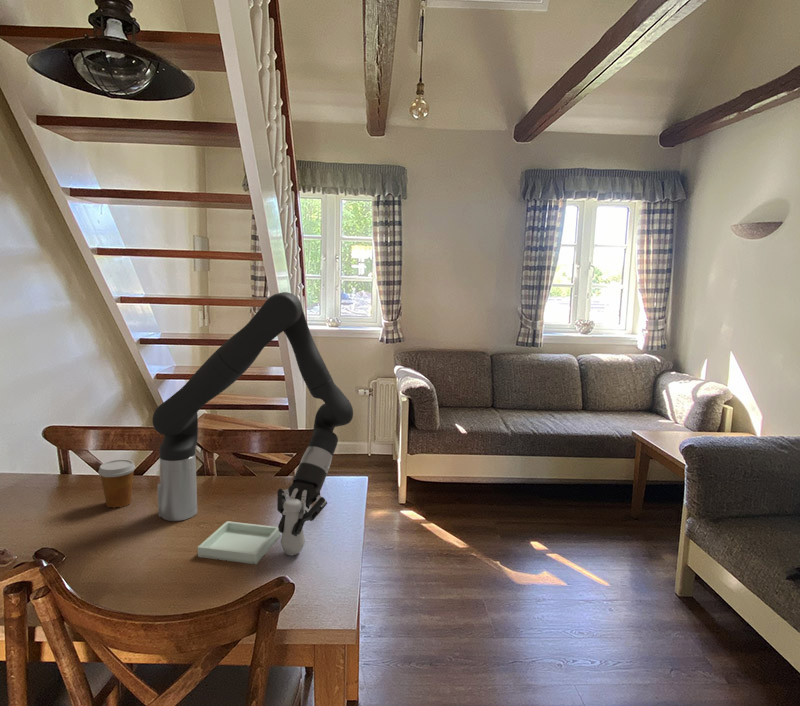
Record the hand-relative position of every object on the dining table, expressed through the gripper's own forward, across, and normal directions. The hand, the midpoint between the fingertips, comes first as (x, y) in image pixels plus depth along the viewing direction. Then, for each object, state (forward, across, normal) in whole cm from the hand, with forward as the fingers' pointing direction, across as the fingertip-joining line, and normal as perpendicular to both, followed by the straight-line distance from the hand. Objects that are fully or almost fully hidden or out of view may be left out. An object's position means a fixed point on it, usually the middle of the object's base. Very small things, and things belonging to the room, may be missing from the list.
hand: (287, 533), depth 127 cm
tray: (+4, -14, +4) cm, 15 cm away
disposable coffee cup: (0, -62, +9) cm, 62 cm away
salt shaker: (+3, 0, +6) cm, 6 cm away
